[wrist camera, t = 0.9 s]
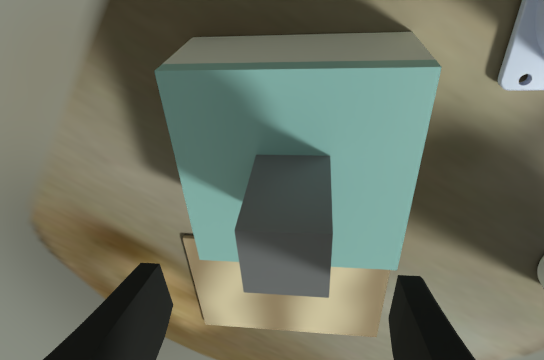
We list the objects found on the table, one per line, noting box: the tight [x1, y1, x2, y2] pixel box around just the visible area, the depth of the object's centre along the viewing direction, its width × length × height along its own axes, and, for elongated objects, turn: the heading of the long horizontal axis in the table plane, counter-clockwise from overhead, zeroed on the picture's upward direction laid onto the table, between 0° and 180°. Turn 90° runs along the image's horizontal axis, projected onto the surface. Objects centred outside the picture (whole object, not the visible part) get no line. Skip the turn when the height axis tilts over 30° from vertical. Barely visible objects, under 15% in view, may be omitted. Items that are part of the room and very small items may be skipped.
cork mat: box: [183, 235, 390, 337], centre depth 27 cm, size 14×10×1 cm
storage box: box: [163, 32, 435, 64], centre depth 18 cm, size 10×10×4 cm
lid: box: [154, 60, 441, 298], centre depth 14 cm, size 10×10×6 cm
